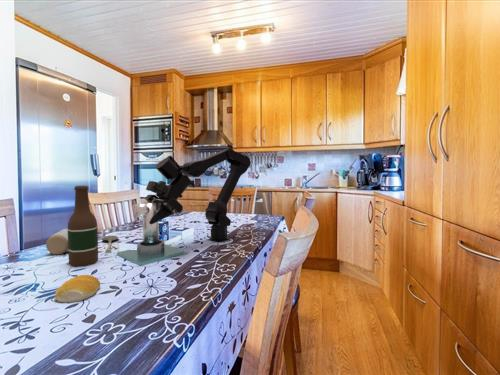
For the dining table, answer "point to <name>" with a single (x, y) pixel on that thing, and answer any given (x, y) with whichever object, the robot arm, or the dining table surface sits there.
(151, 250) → the duct collar
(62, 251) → the beige cylinder
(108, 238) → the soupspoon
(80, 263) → the beer bottle
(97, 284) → the bread roll
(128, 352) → the dining table surface
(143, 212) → the metal bottle
